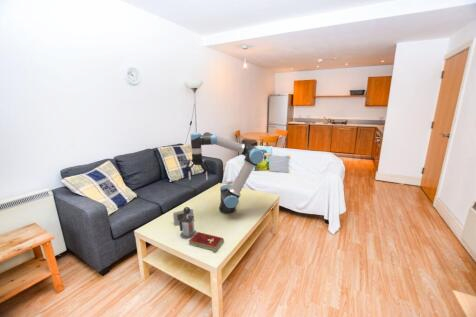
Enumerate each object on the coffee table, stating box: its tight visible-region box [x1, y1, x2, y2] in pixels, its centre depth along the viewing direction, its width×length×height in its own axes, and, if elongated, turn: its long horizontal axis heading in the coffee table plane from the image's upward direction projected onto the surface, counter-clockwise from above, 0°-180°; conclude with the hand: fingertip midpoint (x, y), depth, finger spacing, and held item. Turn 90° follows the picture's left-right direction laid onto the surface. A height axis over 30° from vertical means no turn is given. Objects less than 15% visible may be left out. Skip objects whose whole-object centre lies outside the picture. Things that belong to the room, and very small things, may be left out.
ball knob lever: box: [182, 206, 191, 219], centre depth 159 cm, size 5×5×19 cm
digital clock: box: [172, 208, 195, 227], centre depth 178 cm, size 16×9×11 cm, turn 101°
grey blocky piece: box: [179, 216, 195, 237], centre depth 161 cm, size 10×8×13 cm
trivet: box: [180, 229, 198, 240], centre depth 162 cm, size 12×12×1 cm
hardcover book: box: [188, 231, 224, 253], centre depth 152 cm, size 12×21×4 cm, turn 68°
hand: (198, 179), depth 172 cm, fingers open, 13 cm apart
